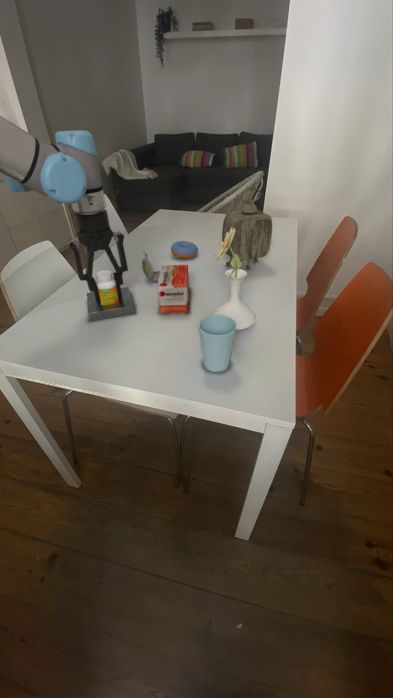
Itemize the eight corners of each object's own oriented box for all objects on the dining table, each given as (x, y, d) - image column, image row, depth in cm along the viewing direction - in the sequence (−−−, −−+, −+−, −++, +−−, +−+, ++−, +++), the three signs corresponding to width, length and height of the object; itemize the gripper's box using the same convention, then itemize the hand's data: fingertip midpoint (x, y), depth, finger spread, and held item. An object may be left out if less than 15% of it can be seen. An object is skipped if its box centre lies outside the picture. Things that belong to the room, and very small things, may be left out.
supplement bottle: (103, 312, 87) (95, 279, 81) (98, 303, 91) (91, 271, 85) (122, 307, 89) (116, 275, 83) (117, 299, 93) (110, 267, 87)
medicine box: (163, 288, 98) (161, 264, 94) (189, 288, 98) (188, 263, 93) (159, 314, 87) (156, 287, 82) (188, 313, 86) (187, 287, 82)
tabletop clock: (257, 258, 115) (265, 182, 100) (270, 268, 109) (281, 188, 93) (220, 265, 112) (223, 187, 96) (232, 275, 105) (236, 193, 90)
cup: (228, 350, 73) (230, 312, 67) (238, 372, 67) (241, 332, 61) (196, 355, 72) (195, 316, 66) (203, 378, 66) (202, 337, 60)
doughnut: (202, 253, 120) (202, 241, 118) (188, 262, 114) (187, 250, 111) (181, 249, 125) (180, 237, 122) (166, 257, 118) (165, 245, 115)
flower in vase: (221, 307, 89) (225, 213, 73) (261, 316, 85) (273, 219, 69) (200, 331, 80) (199, 230, 64) (243, 343, 76) (252, 238, 60)
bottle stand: (90, 321, 84) (88, 313, 83) (88, 300, 93) (86, 292, 92) (134, 313, 87) (133, 305, 86) (128, 294, 96) (127, 286, 94)
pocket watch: (172, 275, 106) (170, 246, 99) (159, 286, 100) (156, 255, 93) (151, 272, 108) (147, 242, 102) (137, 282, 102) (133, 252, 96)
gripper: (51, 220, 68) (77, 312, 83) (133, 208, 75) (144, 296, 89) (46, 212, 74) (72, 300, 88) (123, 201, 80) (136, 285, 94)
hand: (108, 298), depth 88 cm, fingers closed on supplement bottle, 5 cm apart
